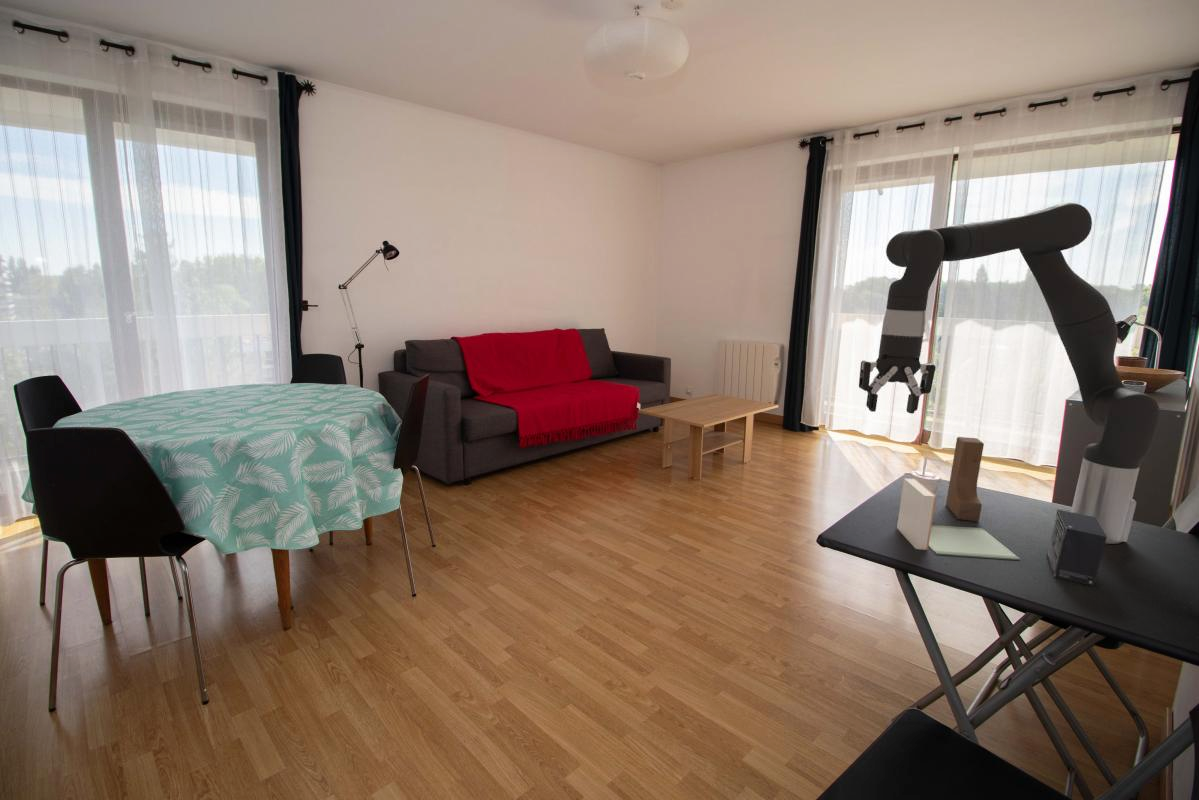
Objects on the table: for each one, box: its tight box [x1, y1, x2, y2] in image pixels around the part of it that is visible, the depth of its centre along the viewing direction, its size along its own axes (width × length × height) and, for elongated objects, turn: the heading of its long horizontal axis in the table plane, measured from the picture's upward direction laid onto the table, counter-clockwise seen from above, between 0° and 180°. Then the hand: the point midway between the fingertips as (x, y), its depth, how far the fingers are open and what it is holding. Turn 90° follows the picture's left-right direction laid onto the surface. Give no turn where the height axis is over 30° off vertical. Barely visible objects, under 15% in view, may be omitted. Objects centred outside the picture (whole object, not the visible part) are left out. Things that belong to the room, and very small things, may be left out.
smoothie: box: [909, 456, 942, 495], centre depth 134 cm, size 6×6×14 cm
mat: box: [928, 524, 1021, 561], centre depth 121 cm, size 16×14×1 cm
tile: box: [896, 477, 937, 551], centre depth 121 cm, size 2×10×12 cm, turn 173°
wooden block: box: [945, 436, 985, 522], centre depth 133 cm, size 9×4×18 cm, turn 165°
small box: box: [1046, 509, 1107, 587], centre depth 108 cm, size 11×6×10 cm, turn 148°
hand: (890, 411), depth 116 cm, fingers open, 7 cm apart
